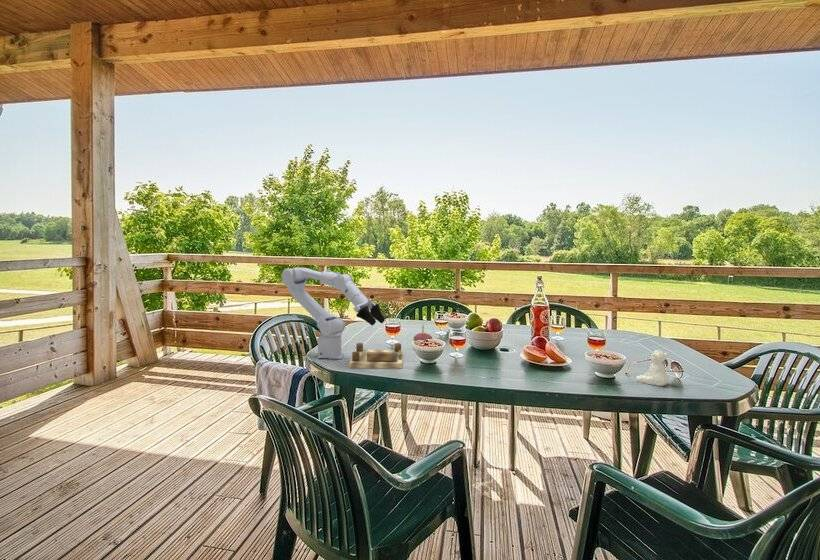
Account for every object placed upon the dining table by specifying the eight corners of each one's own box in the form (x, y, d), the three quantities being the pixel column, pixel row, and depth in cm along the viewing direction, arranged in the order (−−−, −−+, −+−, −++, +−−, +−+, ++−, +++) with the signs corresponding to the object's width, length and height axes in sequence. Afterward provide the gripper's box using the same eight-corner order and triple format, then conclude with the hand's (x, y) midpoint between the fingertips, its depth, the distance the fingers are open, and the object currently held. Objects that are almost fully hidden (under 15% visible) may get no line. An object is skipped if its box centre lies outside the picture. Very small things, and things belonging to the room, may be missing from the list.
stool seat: (349, 368, 163) (349, 355, 163) (355, 354, 183) (355, 342, 183) (402, 368, 164) (402, 355, 163) (402, 354, 183) (402, 342, 183)
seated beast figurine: (653, 377, 155) (655, 345, 154) (676, 385, 147) (678, 351, 146) (634, 381, 152) (636, 347, 150) (657, 389, 144) (659, 353, 143)
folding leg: (366, 360, 165) (366, 353, 165) (367, 359, 167) (367, 352, 167) (397, 361, 165) (397, 353, 165) (397, 359, 168) (397, 352, 167)
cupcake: (432, 351, 189) (432, 324, 188) (413, 351, 189) (413, 324, 188) (431, 346, 198) (432, 320, 197) (413, 346, 198) (413, 320, 197)
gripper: (353, 291, 164) (376, 317, 160) (371, 290, 177) (393, 313, 173) (342, 304, 166) (365, 330, 162) (361, 302, 179) (382, 325, 175)
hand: (378, 322), depth 168 cm, fingers open, 7 cm apart
